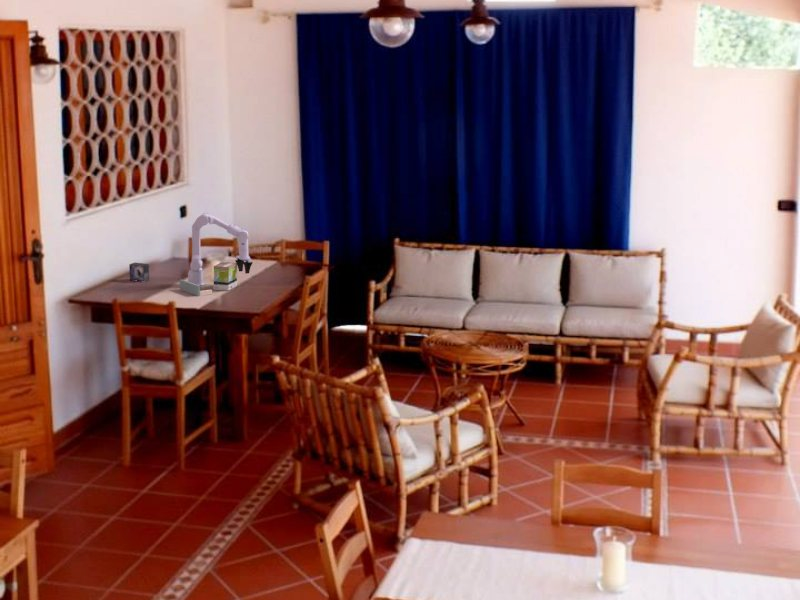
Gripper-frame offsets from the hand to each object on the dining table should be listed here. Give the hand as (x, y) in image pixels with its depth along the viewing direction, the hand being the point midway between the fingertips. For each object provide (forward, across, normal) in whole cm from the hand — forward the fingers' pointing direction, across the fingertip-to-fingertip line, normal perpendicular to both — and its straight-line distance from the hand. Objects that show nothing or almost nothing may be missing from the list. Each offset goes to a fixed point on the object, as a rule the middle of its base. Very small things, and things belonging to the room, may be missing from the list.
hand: (244, 272), depth 710 cm
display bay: (+8, 0, +33) cm, 34 cm away
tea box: (+8, 0, +13) cm, 16 cm away
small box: (+8, +49, +46) cm, 67 cm away
